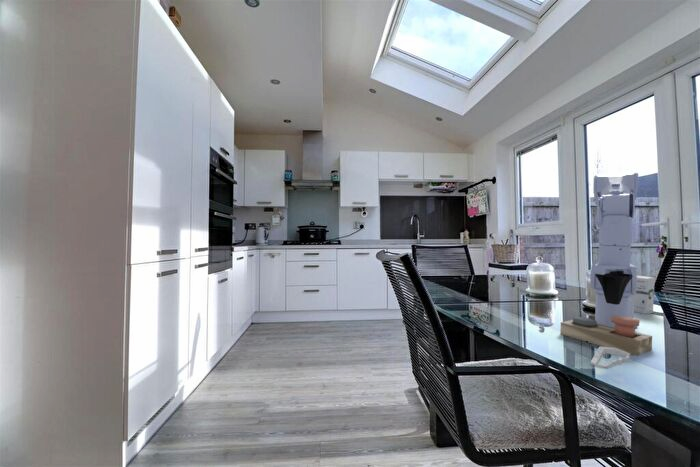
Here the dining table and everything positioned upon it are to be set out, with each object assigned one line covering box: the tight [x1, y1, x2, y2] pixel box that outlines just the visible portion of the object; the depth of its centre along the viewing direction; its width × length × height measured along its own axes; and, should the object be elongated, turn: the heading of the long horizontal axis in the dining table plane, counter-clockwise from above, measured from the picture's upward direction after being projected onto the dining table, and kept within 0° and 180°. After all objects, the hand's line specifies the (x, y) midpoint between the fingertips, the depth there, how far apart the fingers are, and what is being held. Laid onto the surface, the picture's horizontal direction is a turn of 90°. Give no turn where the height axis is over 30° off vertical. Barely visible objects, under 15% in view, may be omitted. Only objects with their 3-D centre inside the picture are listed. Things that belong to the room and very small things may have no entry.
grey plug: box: [572, 316, 597, 328], centre depth 77 cm, size 5×5×4 cm
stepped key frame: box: [590, 346, 631, 369], centre depth 63 cm, size 13×5×2 cm, turn 133°
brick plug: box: [611, 316, 640, 337], centre depth 70 cm, size 5×5×4 cm
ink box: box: [630, 275, 656, 315], centre depth 105 cm, size 9×5×12 cm, turn 27°
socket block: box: [559, 319, 653, 357], centre depth 74 cm, size 8×15×3 cm, turn 28°
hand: (612, 303), depth 72 cm, fingers closed
